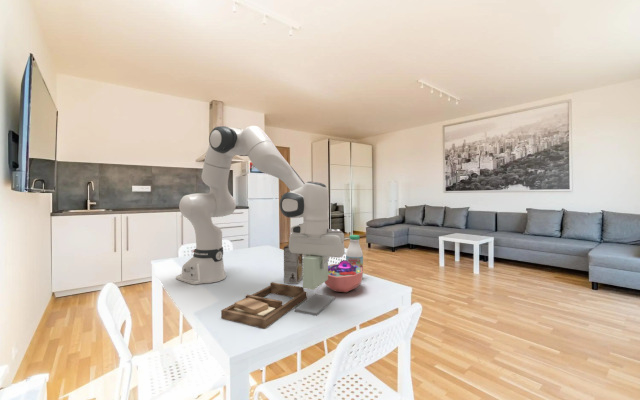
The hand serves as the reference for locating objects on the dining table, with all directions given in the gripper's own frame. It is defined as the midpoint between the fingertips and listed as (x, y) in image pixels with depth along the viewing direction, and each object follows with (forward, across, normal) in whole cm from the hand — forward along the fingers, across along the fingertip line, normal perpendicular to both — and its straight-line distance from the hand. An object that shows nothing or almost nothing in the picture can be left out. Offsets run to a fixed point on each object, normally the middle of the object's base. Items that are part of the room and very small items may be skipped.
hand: (316, 267), depth 99 cm
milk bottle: (+13, -3, -35) cm, 38 cm away
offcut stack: (+14, +14, +17) cm, 26 cm away
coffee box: (+13, +21, -21) cm, 33 cm away
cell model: (+13, -3, -19) cm, 23 cm away
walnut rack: (+13, +14, +9) cm, 21 cm away
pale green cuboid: (+6, 0, 0) cm, 6 cm away
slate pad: (+13, 0, 0) cm, 13 cm away
